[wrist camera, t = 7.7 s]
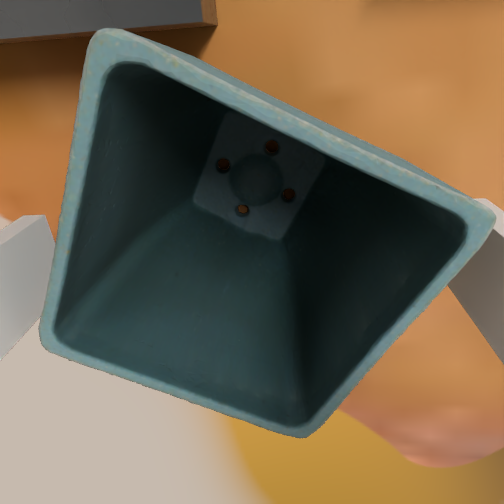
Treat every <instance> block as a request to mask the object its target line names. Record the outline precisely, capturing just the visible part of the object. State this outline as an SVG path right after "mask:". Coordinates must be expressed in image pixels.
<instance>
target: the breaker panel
mask: <svg viewBox="0 0 504 504" xmlns="http://www.w3.org/2000/svg"><path fill="white" fill-rule="evenodd" d="M217 25H218V23H217V13H216V2H215V0H0V44H5V43H17V42H29V41H40V40H52V39H64V38H76V37H88V36H93V35H94V34H95V33H96V32H97V31H98V30H101V29H103V28H116V29H123V30H125V31H127V32H130V33H135V32H147V31H158V30H170V29H182V28H194V27H206V26H217Z"/></svg>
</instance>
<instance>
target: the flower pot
mask: <svg viewBox="0 0 504 504" xmlns="http://www.w3.org/2000/svg"><path fill="white" fill-rule="evenodd" d="M272 140H273V141H275V142H277V144H278V149H277V151H275V152H273V153H271V152H269V151H268V150H267V149H266V144H267V142H268V141H272ZM220 159H227V160H228V161H229V167H228V168H227V169H225V170H222V169H221V168H219V165H218V162H219V160H220ZM289 188H290V189H292V190H294V192H295V196H294V197H293V198H291V199H286V198H285V197H284V195H283V192H284V190H286V189H289ZM239 205H246V206H248V208H249V210H248V212H247V213H243V214H242V213H240V212H239V211H238V206H239ZM496 219H497V218H496V215H495V213H494V212H493V211H492V210H491V209H490V208H488V207H487V206H485V205H483V204H482V203H480V202H478V201H476V200H474V199H472V198H471V197H469V196H467V195H466V194H464V193H462V192H460V191H459V190H457V189H455V188H453V187H451V186H449V185H448V184H446V183H444V182H443V181H441V180H439V179H437V178H436V177H434V176H432V175H430V174H429V173H427V172H425V171H423V170H422V169H420V168H418V167H416V166H415V165H413V164H411V163H409V162H408V161H406V160H404V159H402V158H400V157H398V156H396V155H394V154H392V153H389V152H387V151H385V150H383V149H381V148H379V147H376V146H374V145H372V144H370V143H368V142H366V141H364V140H361V139H359V138H357V137H355V136H353V135H351V134H348V133H346V132H344V131H342V130H340V129H338V128H336V127H334V126H332V125H329V124H327V123H325V122H323V121H321V120H319V119H317V118H315V117H313V116H311V115H309V114H307V113H305V112H303V111H301V110H299V109H297V108H295V107H293V106H290V105H288V104H286V103H284V102H282V101H280V100H278V99H276V98H274V97H272V96H270V95H268V94H266V93H264V92H262V91H260V90H258V89H256V88H254V87H252V86H250V85H248V84H246V83H244V82H242V81H240V80H238V79H236V78H234V77H232V76H231V75H229V74H227V73H225V72H223V71H221V70H219V69H217V68H215V67H213V66H211V65H209V64H207V63H206V62H204V61H202V60H200V59H198V58H196V57H194V56H191V55H189V54H186V53H184V52H181V51H178V50H176V49H173V48H170V47H168V46H165V45H163V44H160V43H157V42H155V41H152V40H149V39H147V38H144V37H141V36H139V35H136V34H133V33H130V32H127V31H125V30H123V29H116V28H103V29H101V30H98V31H97V32H96V33H95V34H94V35H93V37H92V38H91V40H90V42H89V45H88V48H87V52H86V58H85V63H84V67H83V74H82V79H81V83H80V91H79V102H78V106H77V113H76V120H75V124H74V132H73V139H72V144H71V149H70V160H69V166H68V172H67V175H66V183H65V191H64V195H63V202H62V205H61V214H60V216H59V224H58V232H57V238H56V244H55V248H54V257H53V259H52V266H51V272H50V275H49V281H48V285H47V293H46V297H45V301H44V307H43V311H42V314H41V319H40V324H39V335H40V341H41V344H42V346H43V347H44V348H45V349H46V350H48V351H49V352H50V353H54V354H56V355H59V356H61V357H64V358H66V359H68V360H69V361H74V362H77V363H79V364H82V365H85V366H88V367H91V368H94V369H97V370H101V371H104V372H106V373H109V374H111V375H116V376H118V377H121V378H124V379H126V380H129V381H132V382H136V383H138V384H142V385H143V386H145V387H149V388H152V389H155V390H158V391H161V392H164V393H167V394H170V395H172V396H175V397H177V398H180V399H184V400H187V401H189V402H190V403H194V404H198V405H200V406H203V407H206V408H209V409H212V410H214V411H216V412H220V413H222V414H225V415H227V416H230V417H234V418H237V419H240V420H244V421H246V422H249V423H251V424H254V425H256V426H259V427H262V428H265V429H267V430H270V431H273V432H276V433H280V434H283V435H287V436H292V437H296V438H307V437H308V436H309V435H311V434H312V433H314V432H315V431H316V430H317V429H319V428H320V427H321V426H322V425H323V424H324V423H325V421H326V420H327V419H328V418H329V417H330V416H331V415H332V414H333V412H334V411H335V410H336V409H337V408H338V407H339V405H340V404H341V403H342V402H343V401H344V399H345V398H346V397H347V396H348V395H349V394H350V392H351V391H352V390H353V389H354V387H355V386H356V385H358V383H359V381H360V380H362V379H363V377H364V376H365V374H366V373H367V372H368V371H370V369H371V368H372V367H373V366H374V365H375V363H376V362H377V361H378V360H379V359H380V358H381V357H382V356H383V354H384V353H385V352H386V351H387V349H388V348H389V347H390V346H391V345H392V344H393V343H394V342H395V340H397V339H398V338H399V336H401V335H402V334H403V333H404V332H405V330H406V329H407V328H408V326H409V325H410V324H411V323H412V322H413V321H414V320H415V319H416V318H417V317H418V316H419V315H420V314H421V313H422V312H424V310H425V309H426V308H427V307H428V305H429V304H430V303H431V302H432V300H433V299H434V298H435V297H436V296H437V295H438V294H439V293H440V292H441V291H442V290H443V289H444V288H445V287H446V286H447V284H448V283H449V282H450V281H451V280H452V279H453V278H454V277H455V276H456V275H457V274H458V273H459V271H460V270H461V269H462V268H463V267H464V266H465V265H466V264H467V262H468V261H469V260H470V259H471V258H472V257H473V256H474V254H475V253H476V252H477V251H478V250H479V249H480V248H481V246H482V245H483V243H484V242H485V241H486V239H487V238H488V236H489V234H490V233H491V231H492V229H493V227H494V225H495V223H496Z"/></svg>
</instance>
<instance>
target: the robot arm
mask: <svg viewBox="0 0 504 504" xmlns="http://www.w3.org/2000/svg"><path fill="white" fill-rule="evenodd" d="M474 200H476V201H478V202H480V203H482V204H483V205H485V206H487V207H488V208H490V209H491V210H492V211H493V212H494V213H495V215H496V218H497V219H496V223H495V225H494V227H493V229H492V231H491V233H490V234H489V236H488V238H487V239H486V241H485V242H484V243H483V245H482V246H481V248H480V249H479V250H478V251H477V252H476V253H475V254H474V256H473V257H472V258H471V259H470V260H469V261H468V262H467V264H466V265H465V266H464V267H463V268H462V269H461V270H460V271H459V273H458V274H457V275H456V276H455V277H454V278H453V279H452V280H451V281H450V282H449V283H448V284H447V285H448V286H449V288H450V289H451V291H452V292H453V293H454V295H455V296H456V298H457V299H458V301H459V302H460V303H461V305H462V306H463V308H464V309H465V310H466V312H467V313H468V315H469V316H470V317H471V319H472V320H473V322H474V323H475V325H476V326H477V327H478V329H479V330H480V332H481V333H482V334H483V336H484V337H485V339H486V340H487V341H488V343H489V344H490V346H491V347H492V349H493V350H494V351H495V353H496V354H497V356H498V357H499V358H500V360H501V361H502V363H503V364H504V211H502V210H501V209H500V208H498V207H497V206H495V205H494V204H493V203H491V202H490V201H489V200H487V199H486V198H483V199H474ZM54 248H55V241H54V239H53V236H52V233H51V230H50V228H49V225H48V222H47V219H46V217H45V215H24V216H22V217H20V218H19V219H17V220H15V221H14V222H12V223H11V224H9V225H8V226H6V227H5V228H3V229H2V230H0V360H2V359H3V357H4V356H5V355H6V354H7V353H8V352H9V351H10V350H11V349H12V347H13V346H14V345H15V344H16V343H17V342H18V341H19V340H20V338H21V337H22V336H23V335H24V334H25V333H26V332H27V331H28V330H29V328H31V326H32V325H33V324H34V323H35V322H36V321H37V320H38V319H39V318H40V317H41V314H42V311H43V307H44V301H45V297H46V293H47V285H48V281H49V275H50V272H51V266H52V259H53V257H54Z"/></svg>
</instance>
